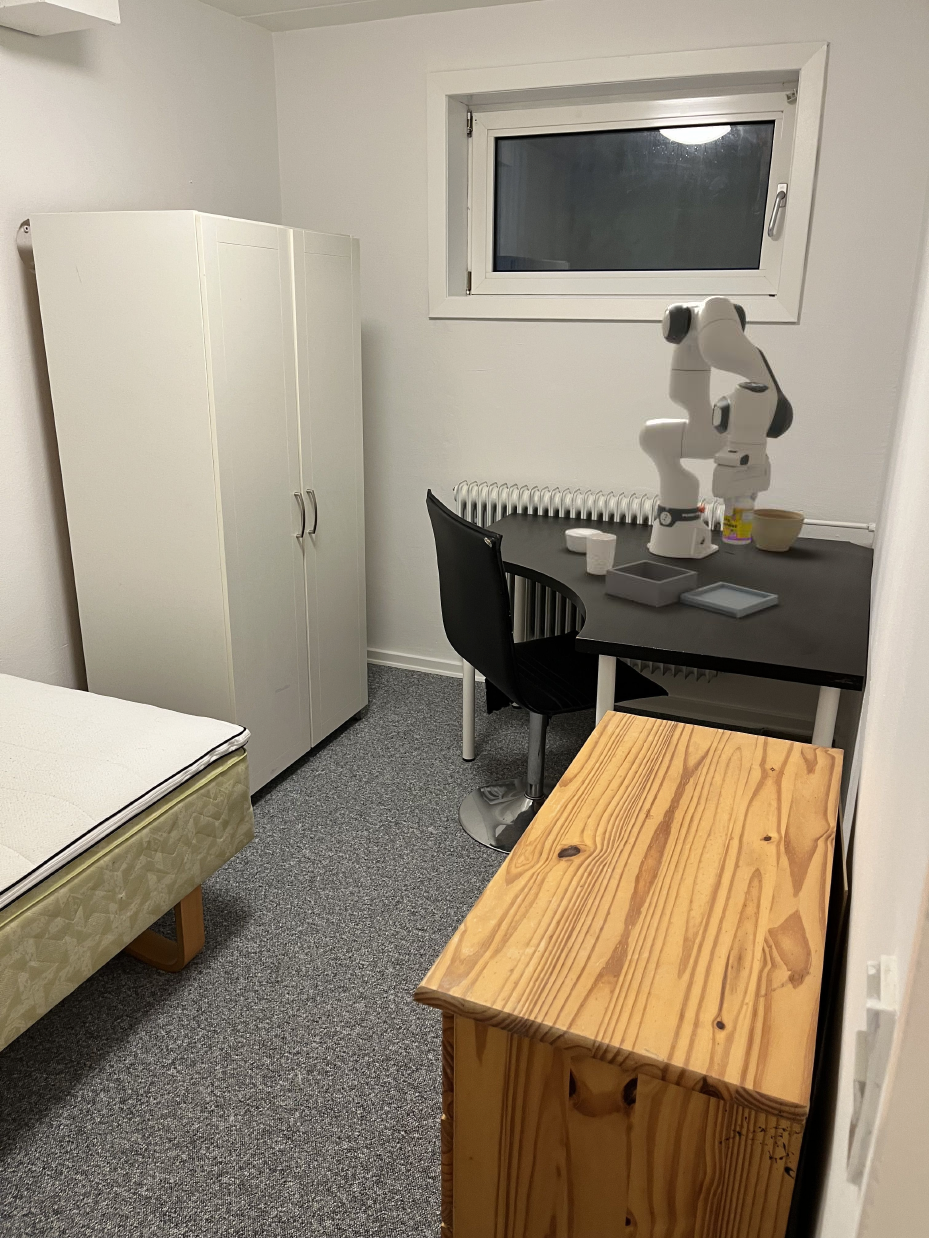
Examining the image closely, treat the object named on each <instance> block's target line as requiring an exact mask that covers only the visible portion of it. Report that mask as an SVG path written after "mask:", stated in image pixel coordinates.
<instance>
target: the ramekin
mask: <svg viewBox="0 0 929 1238" xmlns="http://www.w3.org/2000/svg"><path fill="white" fill-rule="evenodd" d="M591 533H603V532H602V530H601V531H600V530H598V529H593V528H581V527H580V528H570V529H567V530H566V531H565V534H564V535H565V538H566V546H567V548H568V550H570V551H571V552H574V553H583V554H584V553H586V554H587V535H588V534H591Z"/></svg>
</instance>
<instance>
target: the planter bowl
mask: <svg viewBox="0 0 929 1238" xmlns="http://www.w3.org/2000/svg"><path fill="white" fill-rule="evenodd" d="M805 519H806V516H805V515H804V514H802V513H800V512H797V511H791V510H786V509H777V508H754V515H753V525H752V534H751V537H752V538H753V540H754V542H755V546H756V548H758V549H760V550H765V551H767V552H786V551H789V549H790V546H791V545H792V544H793V543H794V542H795V541H796V539H798V537H799V535H800V534H801V531H802V528H803V525H804V521H805Z"/></svg>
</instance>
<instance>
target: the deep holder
mask: <svg viewBox="0 0 929 1238" xmlns="http://www.w3.org/2000/svg"><path fill="white" fill-rule="evenodd" d="M697 579H698V572H697V571H693V570H689V569H685V568H681V567H676V566H672V565H668V564H663V563H660V562H655V561H651V560H647V559H643V560H640V561H636V562H632V563H627V564H624V565H619V566H616V567H612V568H611V569H608V570H606V575H605V584H604V585H605V587H604V594H608V595H612V596H615V597H619V598H622V599H625V598H626V599H627V600H629V601H632V600H634V601H633V602H636V601H637V603H640V604H643V603H644V604H643V605H647V604H648V605H647V606H650V605H652V606H651V607H654V606H655V608H660V607H663V606H665V605H667V606H668V605H669V604H673V603H675V602H676V603H677V602H680V598H681V594H684V593H687V592H690V591H693V590H697V582H698V581H697ZM626 599H625V600H626Z"/></svg>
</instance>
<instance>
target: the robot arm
mask: <svg viewBox="0 0 929 1238" xmlns="http://www.w3.org/2000/svg"><path fill="white" fill-rule="evenodd" d="M746 326H747V315H746V311H745V309H744V308H743V306H742V305H740V304H738V303H733V302H731V300H729V298H726V297H725V296H722V295H721V296H720V295H714V296H711V297H708V298H706V299H705V300H704V301H702V302H700V301H699V302H687V303H683V302H679V303H673V304H671V305H669V306H668V307H667V308H666V310H665V311H664V314H663V316H662V321H661V329H662V335H663V338H664V339H665V341H666V343H669V344H674V347H673V350H672V356H671V363H670V371H669V372H670V374H669V386H668V396H669V398H670V400H671V401H672V402H673V403H674V404H675V405H677V406H679V407H680V408H682V409H684V410H685V411H686V412H687V414H688V418H687V419H682V418H680V419H679V418H666V417H665V418H655V419H649V420H647V421H645V423H644V424H643V425H642V427H641V428H640V430H639V436H638V442H639V445H640V448H641V450H642V451H643V452H644V453H645V454H646V455H647V456H648V457H649V458H650V459H651V460H652V463H654V465H655V467H656V469H657V472H658V476H659V502H658V504H657V508H656V520H654V521H653V526H652V531H651V536H650V542H648V543H647V544H646V547H647V549H649V552H650V553H652V554H655V555H657V556H661V557H667V558H681V559H683V558H685V559H687V558H688V559H689V558H690V559H691V558H692V559H702V558H705V557H707V556H709V555H710V554H712V553H715V552H717V551H719V546H718V545H716V544H714V543H713V544H712V530H711V529H710V528H709V527H708V526H707V525H706V524H705V523H704V522H703V520H702V519H701V514H705V512H706V509H707V508H706V507H705V506H704V505H703V506H701V505H699V495H700V485H701V483H700V480H699V477H698V476H697V475H696V474H694V473H693V472H692V471H690V470H688V469H686V468H685V467H683V465H682V463H681V459H689V460H690V459H691V460H701V461H703V460H705V461H706V460H713V463H714V464H716V465H715V466H714V468H713V473H712V480H711V481H712V482H711V483H712V484H711V492H712V493H711V494H712V496H713V497H714V498H718V499H723V503H724V515H728V516H732V515H734V514H735V509H736V508H734V506H733V502H734V500H735V497H737V496H742V495H744V494H745V491H746V490H750V489H752V494H751V496H750V499H751V500H752V501H753V502H754V504H755V502H756V501H757V499H758V495H759V493H761V492H766V491H768V490H769V488H770V487H771V473H772V469H771V468H772V465H771V462H770V459H769V458H770V457H769V456H768V454H767V445H768V438H769V439H778V438H779V437H781V436H782V435H784V434H785V433H786V432H787V431H788V430H789V429H790V428H791V426H792V424H793V421H794V410H793V407H792V404H791V402H790V400H789V399H788V397H787V396H786V395H785V394H784V393H783V391H782V389H781V387H780V385H779V382H778V380H777V378H776V376H775V373H774V371H773V370H772V367H771V366H770V363H769V362H768V359H767V358H766V357H767V356H766V355H765V354H764V352H763V351H762V350H761V348H759V347H757V346H756V345H754V343H753V342H751V340H750V339H749V338H748V337H747V336H746V334H745V331H746V330H745V329H746ZM712 368H714V369H717V370H719V371H723V372H727V373H731V374H735V375H738V376H740V377H743V378H745V379H746V380H748V381H744V382H740V383H737V384H736V386H735V388H734V391H733V392H732V393H730V394H728V395H723V396H722V397H720V398H719V399H718V400H717V401H716V402H715V403H714V405H713V406H712V402H711V394H710V393H711V389H710V388H711V385H710V384H711V376H712V375H711V373H712ZM725 508H726V509H725Z"/></svg>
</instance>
